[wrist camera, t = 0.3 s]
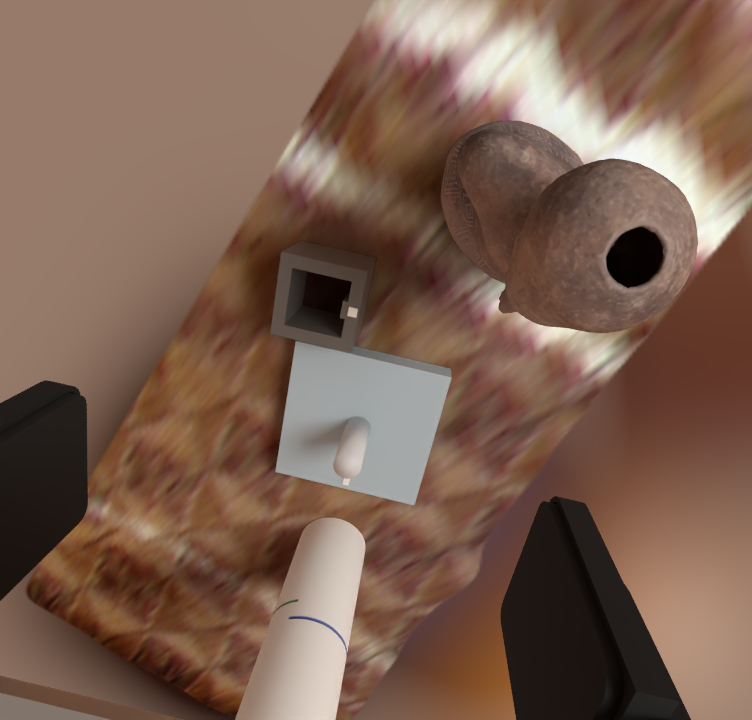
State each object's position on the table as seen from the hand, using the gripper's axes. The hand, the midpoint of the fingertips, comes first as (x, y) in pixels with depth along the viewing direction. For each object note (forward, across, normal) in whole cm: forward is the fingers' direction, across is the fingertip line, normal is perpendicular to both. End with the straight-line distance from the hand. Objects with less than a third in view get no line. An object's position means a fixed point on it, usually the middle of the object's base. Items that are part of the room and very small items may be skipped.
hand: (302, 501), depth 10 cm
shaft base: (+35, 0, +16) cm, 38 cm away
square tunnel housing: (+35, +5, +4) cm, 35 cm away
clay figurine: (+35, -8, -6) cm, 36 cm away
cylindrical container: (+35, +1, +32) cm, 48 cm away
